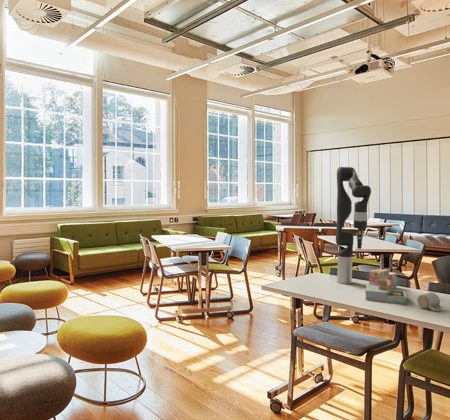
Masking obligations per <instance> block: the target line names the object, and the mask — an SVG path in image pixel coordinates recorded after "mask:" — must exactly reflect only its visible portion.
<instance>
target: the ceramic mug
mask: <svg viewBox="0 0 450 420" xmlns="http://www.w3.org/2000/svg"><path fill="white" fill-rule="evenodd" d="M416 300H417V305H418V306H419V307H420V308H421V309H424V310H425V309H426V310H432V311H433V312H441V310H442V305H441V301H440V300H441V299H440V298H439V295H438V294H437V293H435V292H432V291H431V292H427V293H422V294H420V295H419V296H418V297H417V299H416Z"/></svg>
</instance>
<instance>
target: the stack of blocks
mask: <svg viewBox="0 0 450 420" xmlns="http://www.w3.org/2000/svg"><path fill="white" fill-rule="evenodd" d="M368 272H369V274H368V277H369V278H368V282H369V283H368V285H377V286H379V279H385V280H386V279H388V280H389V281H390V289H393V290H394V289H396V288H397V282H398V281H397V279H398V278H397V274H398V273H397V272H391V271H390V269H384V268H376V269H372V270H369V271H368Z"/></svg>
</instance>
